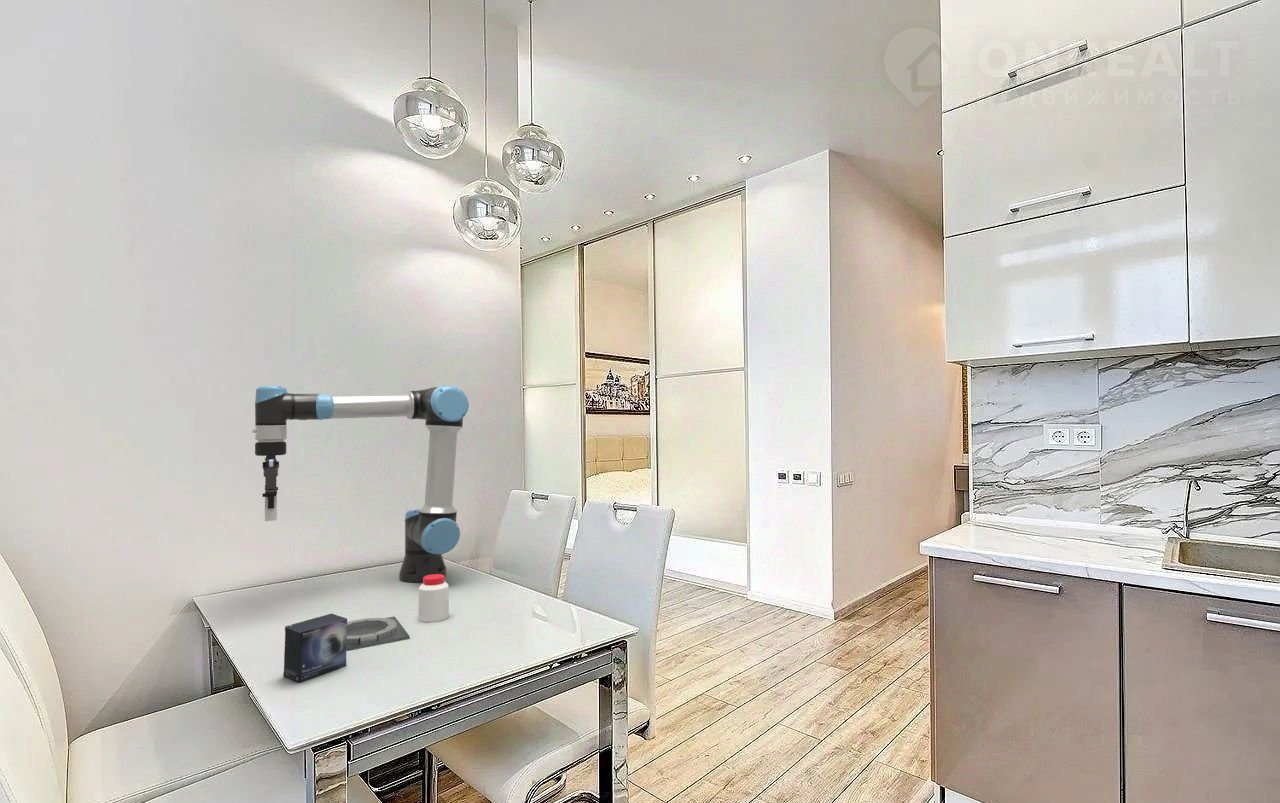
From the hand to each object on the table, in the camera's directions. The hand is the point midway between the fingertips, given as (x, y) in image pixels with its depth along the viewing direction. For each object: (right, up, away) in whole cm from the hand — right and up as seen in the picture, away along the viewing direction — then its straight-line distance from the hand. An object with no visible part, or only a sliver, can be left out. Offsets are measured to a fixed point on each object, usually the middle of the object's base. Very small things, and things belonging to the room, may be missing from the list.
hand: (270, 517), depth 169 cm
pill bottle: (+47, -26, -6) cm, 55 cm away
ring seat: (+35, -26, -19) cm, 47 cm away
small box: (+34, -25, -40) cm, 59 cm away
